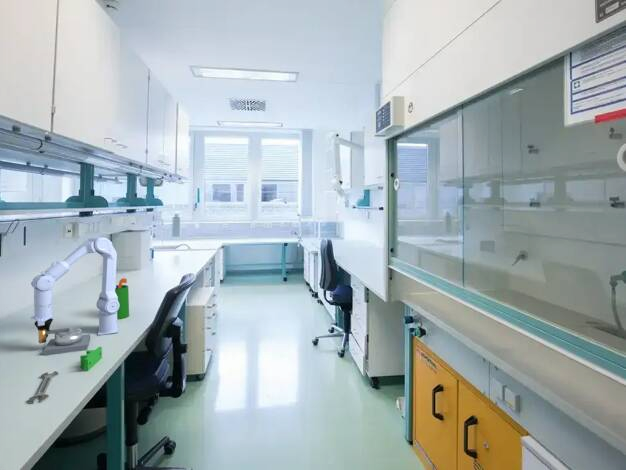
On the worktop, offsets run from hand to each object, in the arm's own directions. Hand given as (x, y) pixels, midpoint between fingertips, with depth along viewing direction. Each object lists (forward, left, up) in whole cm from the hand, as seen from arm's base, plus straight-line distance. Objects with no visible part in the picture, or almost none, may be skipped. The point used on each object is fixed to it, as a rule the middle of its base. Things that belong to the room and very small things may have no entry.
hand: (44, 337), depth 142 cm
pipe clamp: (+25, +18, -4) cm, 31 cm away
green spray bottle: (-34, +26, -4) cm, 43 cm away
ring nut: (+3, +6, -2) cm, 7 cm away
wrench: (+38, +7, -4) cm, 39 cm away
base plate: (+3, +8, -4) cm, 10 cm away
